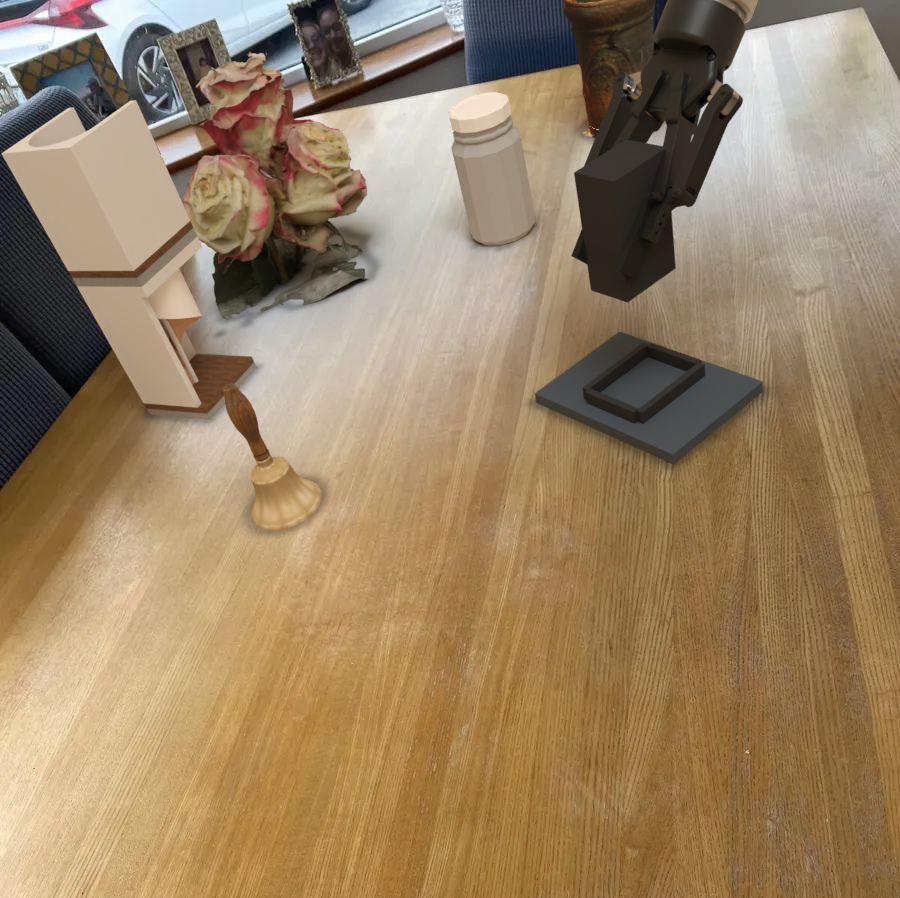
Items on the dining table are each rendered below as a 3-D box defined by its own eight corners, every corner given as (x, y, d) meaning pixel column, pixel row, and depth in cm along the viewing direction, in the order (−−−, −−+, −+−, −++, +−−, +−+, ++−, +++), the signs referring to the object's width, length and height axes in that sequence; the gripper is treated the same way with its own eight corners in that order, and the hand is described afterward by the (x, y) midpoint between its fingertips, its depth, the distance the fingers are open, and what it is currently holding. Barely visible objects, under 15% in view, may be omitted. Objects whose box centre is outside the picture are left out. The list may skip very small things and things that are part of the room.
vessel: (658, 95, 159) (647, -41, 145) (677, 125, 149) (668, -18, 135) (574, 119, 161) (555, -14, 147) (587, 150, 151) (569, 11, 137)
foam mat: (763, 393, 99) (762, 369, 96) (673, 466, 94) (671, 442, 92) (621, 342, 111) (618, 319, 109) (536, 404, 107) (532, 382, 105)
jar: (467, 254, 136) (436, 126, 124) (477, 221, 143) (449, 97, 130) (533, 244, 133) (508, 112, 121) (540, 211, 140) (518, 83, 127)
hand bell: (240, 530, 104) (176, 413, 93) (270, 481, 109) (213, 364, 98) (305, 532, 101) (247, 411, 90) (333, 481, 106) (282, 361, 95)
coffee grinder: (211, 421, 122) (70, 147, 97) (150, 415, 126) (1, 153, 102) (257, 369, 128) (135, 100, 103) (197, 366, 133) (68, 108, 108)
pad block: (676, 268, 94) (667, 146, 85) (627, 303, 91) (613, 181, 83) (638, 257, 97) (625, 139, 88) (590, 290, 95) (573, 172, 86)
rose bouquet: (215, 339, 137) (115, 128, 116) (240, 248, 157) (159, 54, 136) (385, 298, 133) (313, 71, 112) (388, 210, 153) (328, 5, 132)
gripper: (610, -15, 87) (515, 235, 94) (775, -8, 76) (653, 277, 82) (654, 25, 93) (561, 259, 99) (813, 37, 81) (697, 301, 87)
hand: (603, 267), depth 91 cm, fingers closed on pad block, 5 cm apart
